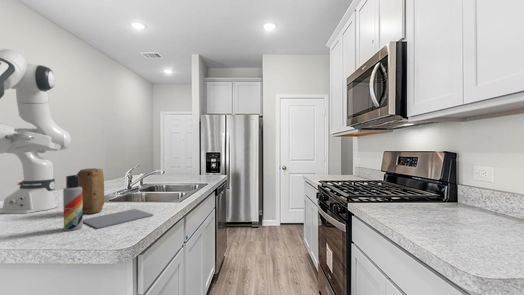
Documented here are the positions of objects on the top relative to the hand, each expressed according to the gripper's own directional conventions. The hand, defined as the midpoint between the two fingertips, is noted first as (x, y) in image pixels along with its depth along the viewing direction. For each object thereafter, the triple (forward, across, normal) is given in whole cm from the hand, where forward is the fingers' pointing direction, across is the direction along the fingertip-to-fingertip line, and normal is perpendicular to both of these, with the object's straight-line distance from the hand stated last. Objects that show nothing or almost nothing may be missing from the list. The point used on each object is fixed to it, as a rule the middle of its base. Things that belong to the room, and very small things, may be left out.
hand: (51, 149), depth 90 cm
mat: (+29, 0, +23) cm, 37 cm away
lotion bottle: (+14, +3, +27) cm, 31 cm away
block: (+29, +22, +20) cm, 42 cm away
